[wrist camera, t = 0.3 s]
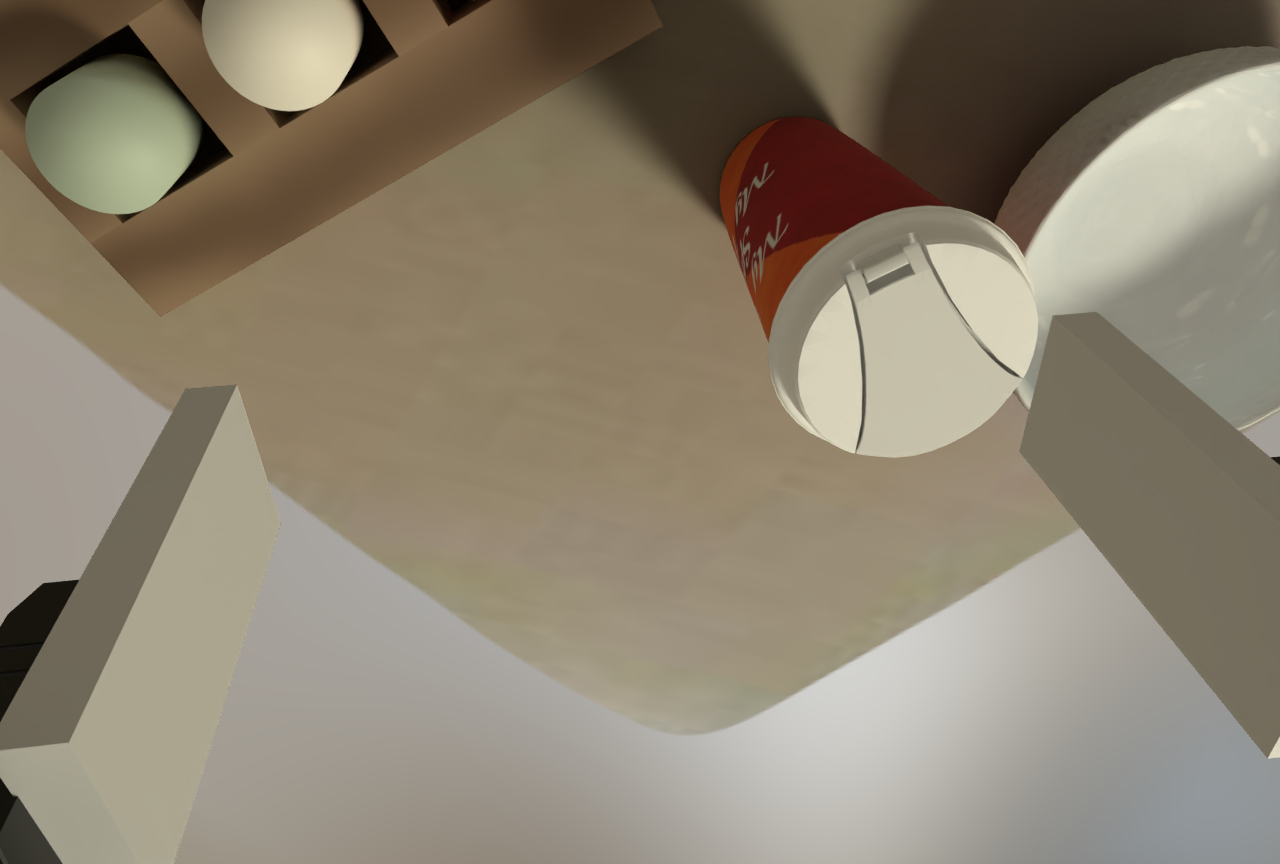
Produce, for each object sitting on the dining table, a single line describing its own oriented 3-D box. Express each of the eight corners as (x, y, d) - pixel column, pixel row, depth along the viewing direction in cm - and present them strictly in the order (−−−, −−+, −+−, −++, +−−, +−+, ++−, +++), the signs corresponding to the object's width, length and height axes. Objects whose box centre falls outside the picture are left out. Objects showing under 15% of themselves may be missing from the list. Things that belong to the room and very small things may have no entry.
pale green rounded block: (39, 93, 32) (-8, 122, 29) (140, 29, 31) (102, 51, 28) (134, 200, 35) (100, 236, 32) (229, 142, 34) (203, 174, 31)
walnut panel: (-70, 7, 32) (-118, 24, 29) (475, -365, 28) (473, -382, 26) (182, 284, 38) (160, 316, 36) (651, 10, 35) (663, 25, 32)
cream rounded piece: (201, -11, 31) (169, 8, 28) (309, -81, 30) (288, -69, 27) (287, 106, 33) (267, 136, 30) (390, 44, 33) (378, 68, 30)
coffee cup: (660, 145, 38) (737, 310, 25) (848, 48, 36) (1025, 171, 24) (736, 308, 42) (833, 515, 30) (905, 227, 41) (1079, 407, 29)
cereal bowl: (1300, -61, 36) (1453, -35, 30) (1312, 282, 45) (1431, 352, 40) (894, 141, 39) (963, 200, 33) (983, 427, 48) (1050, 513, 42)
